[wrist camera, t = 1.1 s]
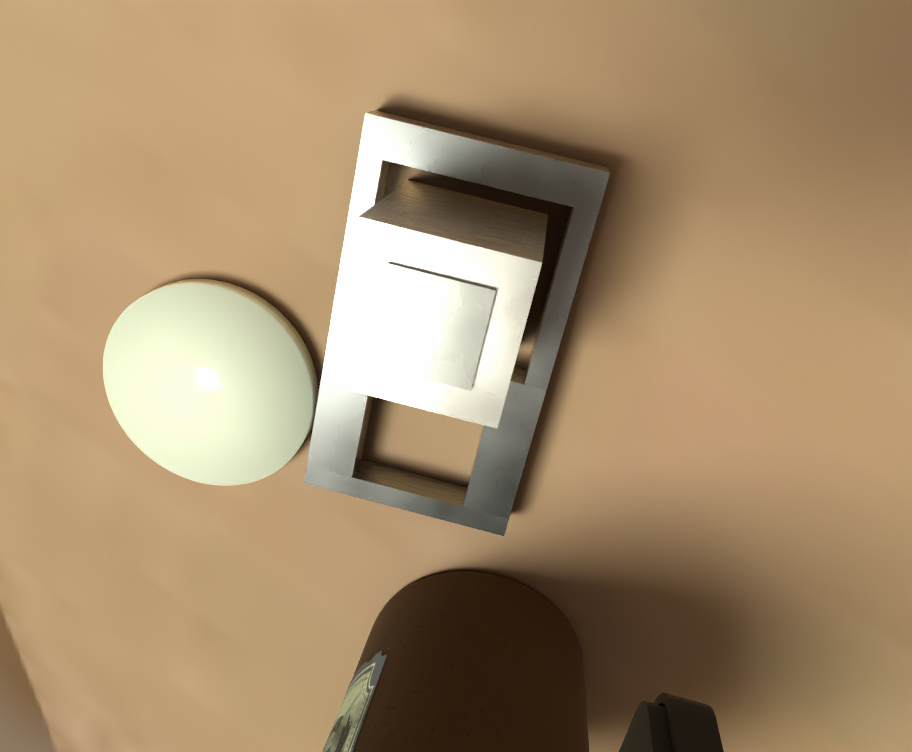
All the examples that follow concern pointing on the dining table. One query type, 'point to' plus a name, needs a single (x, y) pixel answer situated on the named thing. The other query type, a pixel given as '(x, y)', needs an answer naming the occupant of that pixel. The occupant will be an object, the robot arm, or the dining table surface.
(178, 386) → the cream dome cap
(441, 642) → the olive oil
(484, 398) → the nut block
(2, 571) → the dining table surface
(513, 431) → the metal rectangular frame
